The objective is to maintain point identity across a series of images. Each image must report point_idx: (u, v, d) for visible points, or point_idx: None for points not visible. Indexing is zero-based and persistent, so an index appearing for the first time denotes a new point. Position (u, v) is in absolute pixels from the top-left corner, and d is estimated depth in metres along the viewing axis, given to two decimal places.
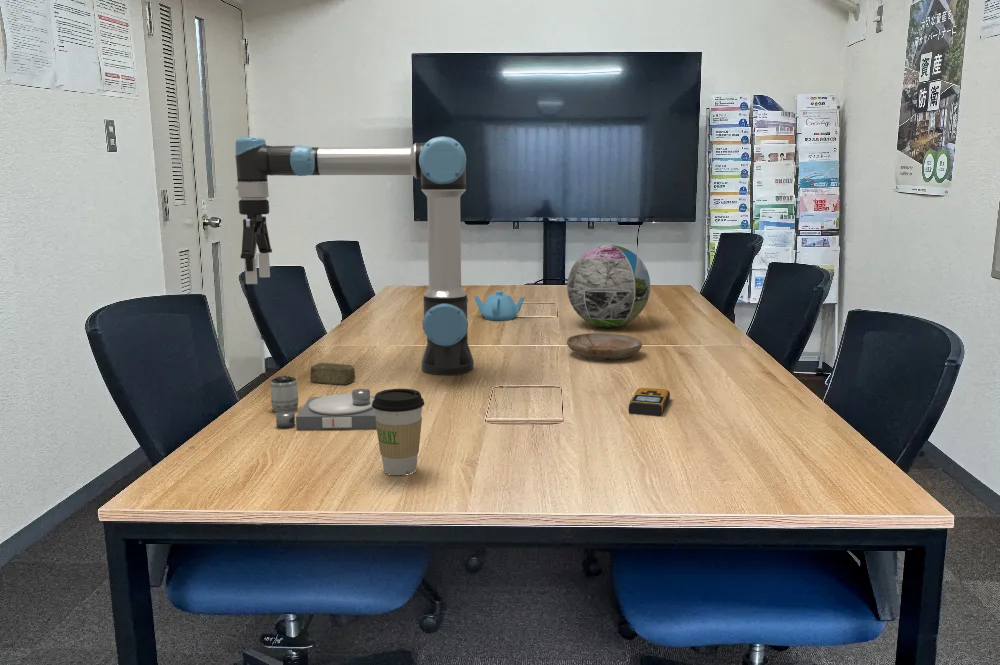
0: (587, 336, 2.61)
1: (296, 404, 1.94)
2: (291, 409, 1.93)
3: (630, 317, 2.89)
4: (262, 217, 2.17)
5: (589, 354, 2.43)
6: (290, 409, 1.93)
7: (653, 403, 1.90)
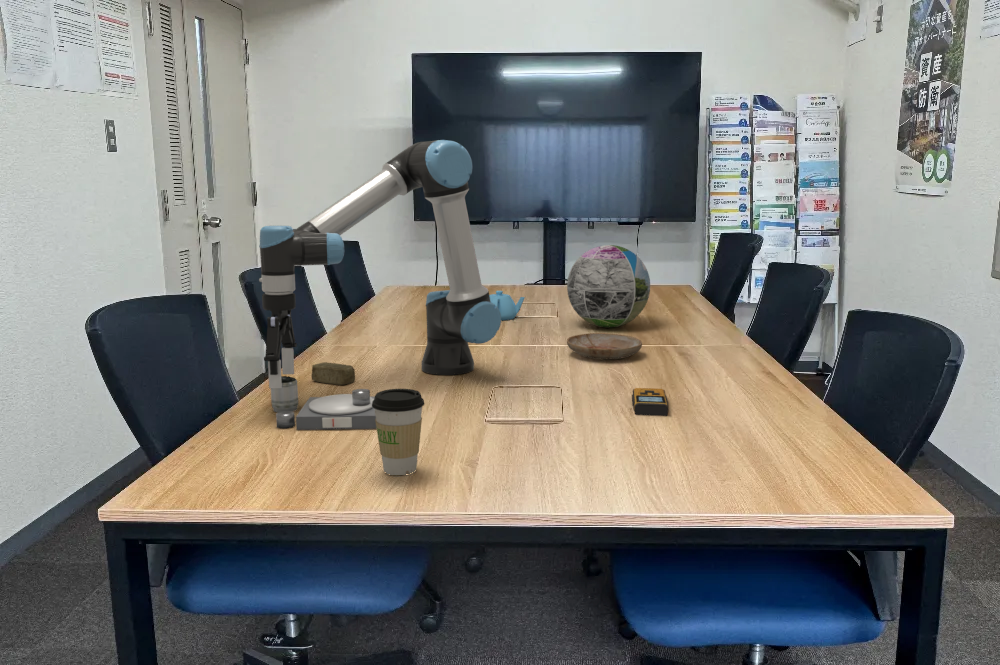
0: (587, 336, 2.61)
1: (296, 404, 1.94)
2: (291, 409, 1.93)
3: (630, 317, 2.89)
4: (287, 309, 1.96)
5: (589, 354, 2.43)
6: (290, 409, 1.93)
7: (659, 403, 1.90)
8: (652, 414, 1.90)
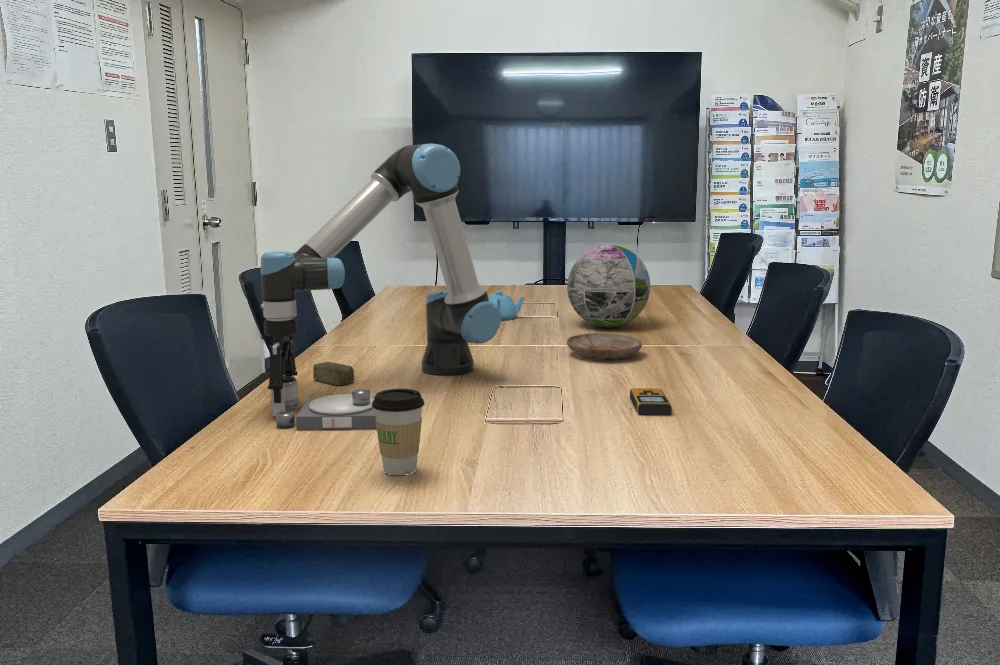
0: (587, 336, 2.61)
1: (296, 404, 1.94)
2: (291, 409, 1.93)
3: (630, 317, 2.89)
4: (288, 336, 1.98)
5: (589, 354, 2.43)
6: (290, 409, 1.93)
7: (662, 403, 1.90)
8: (656, 414, 1.90)
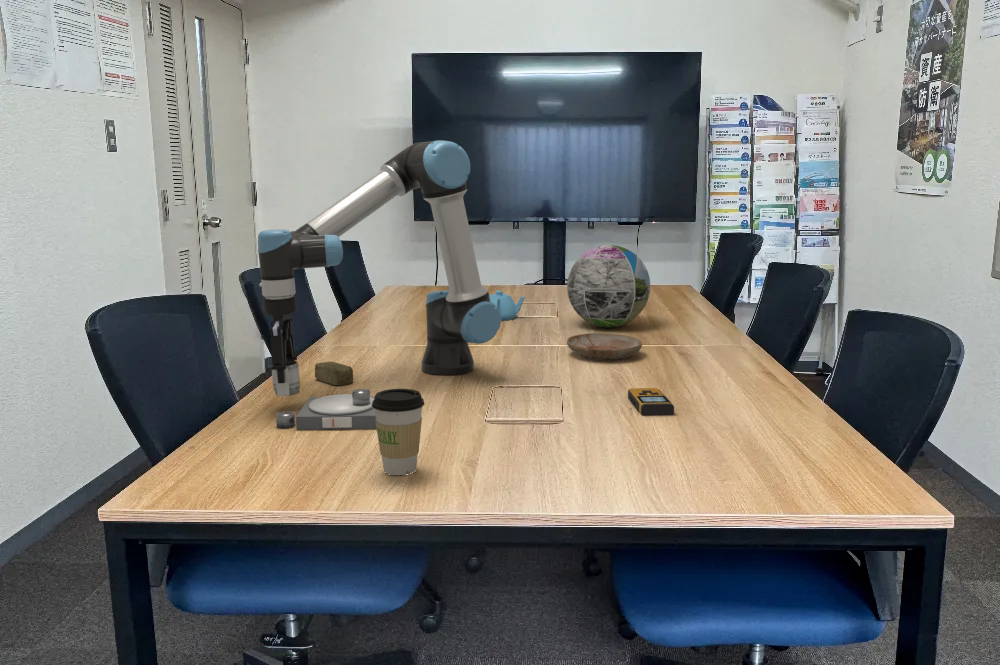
0: (587, 336, 2.61)
1: (298, 387, 1.94)
2: (293, 392, 1.93)
3: (630, 317, 2.89)
4: (288, 317, 1.97)
5: (589, 354, 2.43)
6: (292, 392, 1.92)
7: (664, 403, 1.90)
8: (659, 414, 1.90)
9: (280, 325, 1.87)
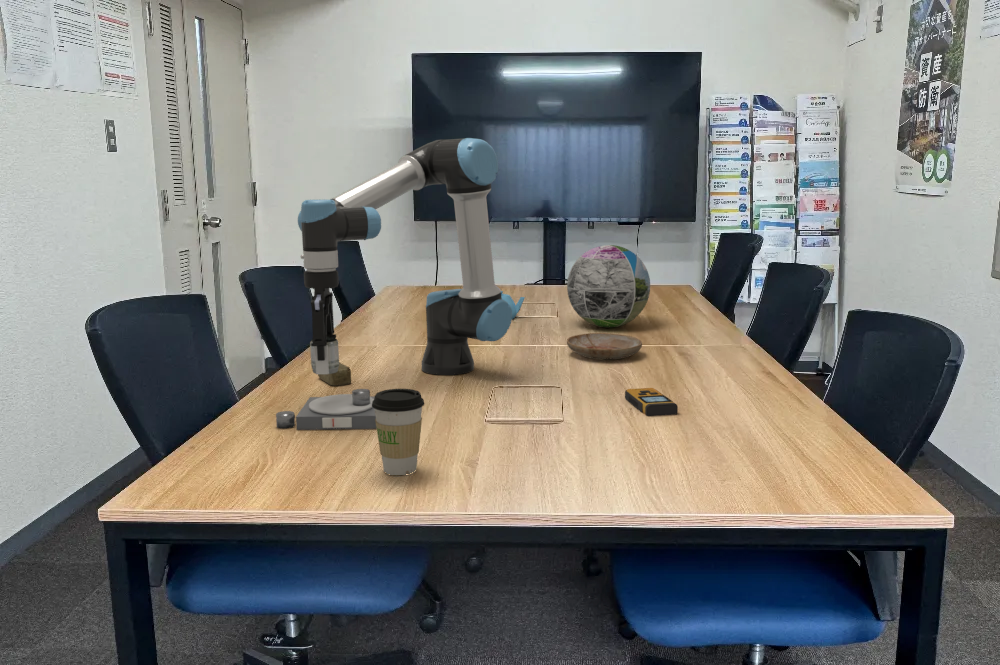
0: (587, 336, 2.61)
1: (337, 365, 1.84)
2: (332, 370, 1.83)
3: (630, 317, 2.89)
4: (329, 292, 1.88)
5: (589, 354, 2.43)
6: (331, 370, 1.83)
7: (668, 402, 1.91)
8: (663, 414, 1.90)
9: (322, 299, 1.78)
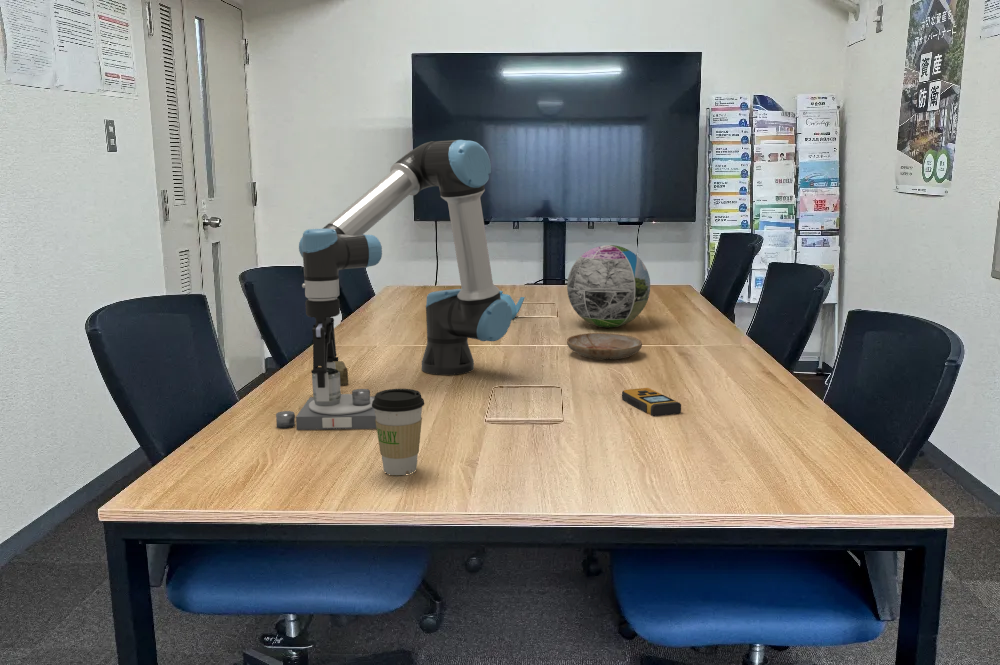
0: (587, 336, 2.61)
1: (339, 397, 1.86)
2: (334, 402, 1.85)
3: (630, 317, 2.89)
4: (330, 318, 1.89)
5: (589, 354, 2.43)
6: (333, 402, 1.85)
7: (671, 401, 1.91)
8: (668, 413, 1.90)
9: (323, 327, 1.79)
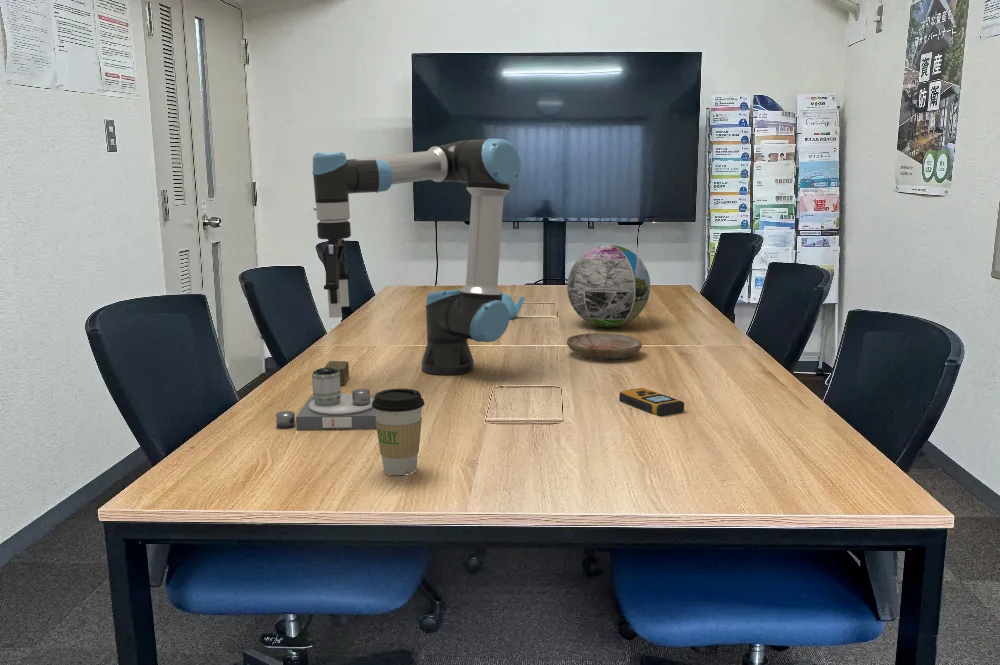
0: (587, 336, 2.61)
1: (339, 397, 1.86)
2: (334, 402, 1.85)
3: (630, 317, 2.89)
4: (340, 240, 1.93)
5: (589, 354, 2.43)
6: (333, 402, 1.85)
7: (675, 401, 1.92)
8: (672, 413, 1.91)
9: None
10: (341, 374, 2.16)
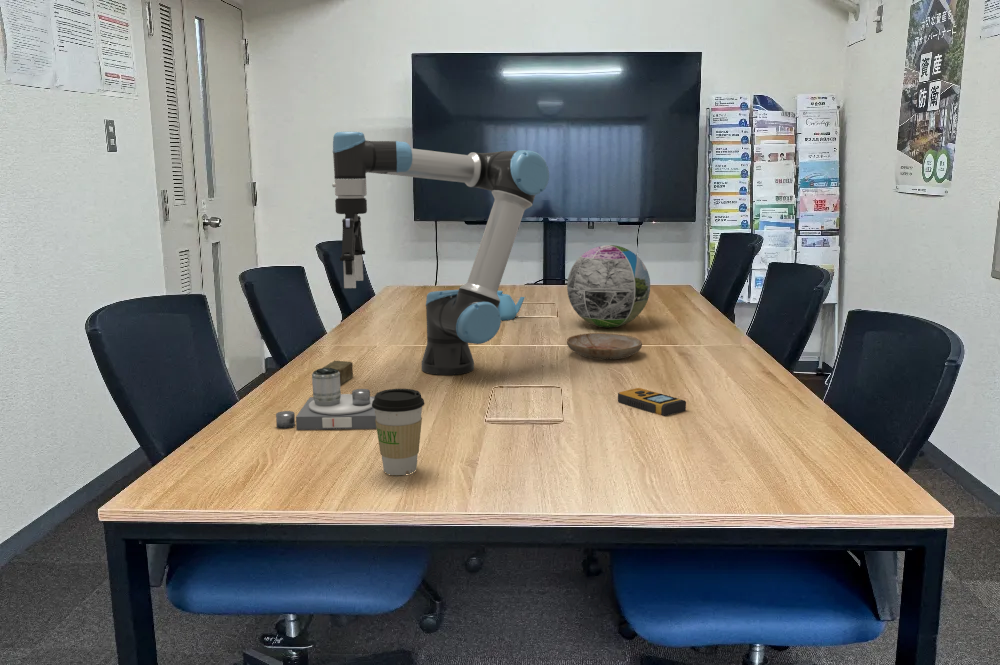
0: (587, 336, 2.61)
1: (339, 397, 1.86)
2: (333, 402, 1.85)
3: (630, 317, 2.89)
4: (357, 217, 2.03)
5: (589, 354, 2.43)
6: (332, 402, 1.85)
7: (677, 400, 1.93)
8: (676, 412, 1.91)
9: None
10: None
